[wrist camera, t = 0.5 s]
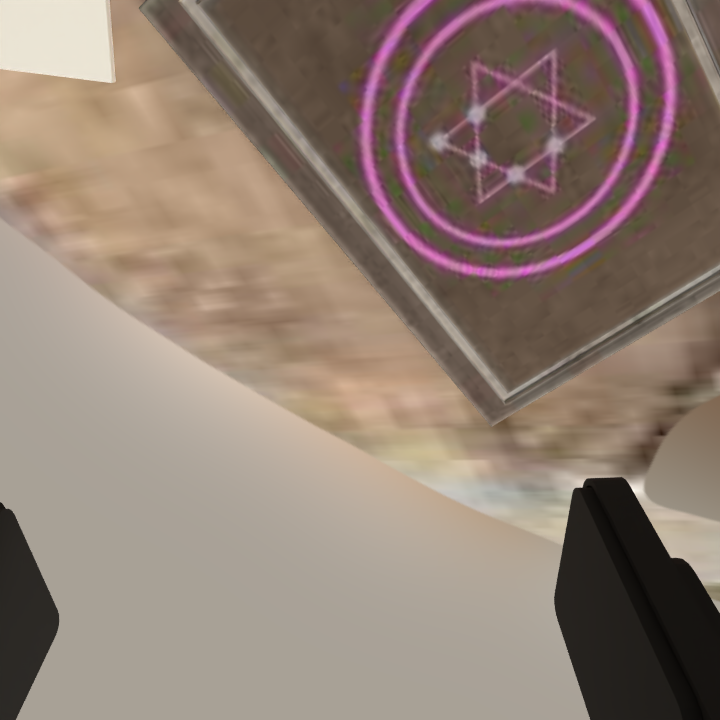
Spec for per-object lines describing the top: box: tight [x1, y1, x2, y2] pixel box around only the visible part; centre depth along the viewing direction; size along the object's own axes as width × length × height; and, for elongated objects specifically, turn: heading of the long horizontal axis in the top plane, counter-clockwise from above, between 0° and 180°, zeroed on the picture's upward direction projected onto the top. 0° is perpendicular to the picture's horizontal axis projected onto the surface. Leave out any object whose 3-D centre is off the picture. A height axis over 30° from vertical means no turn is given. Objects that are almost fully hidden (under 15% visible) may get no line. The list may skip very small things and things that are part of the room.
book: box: [139, 0, 720, 427], centre depth 33 cm, size 30×22×5 cm
